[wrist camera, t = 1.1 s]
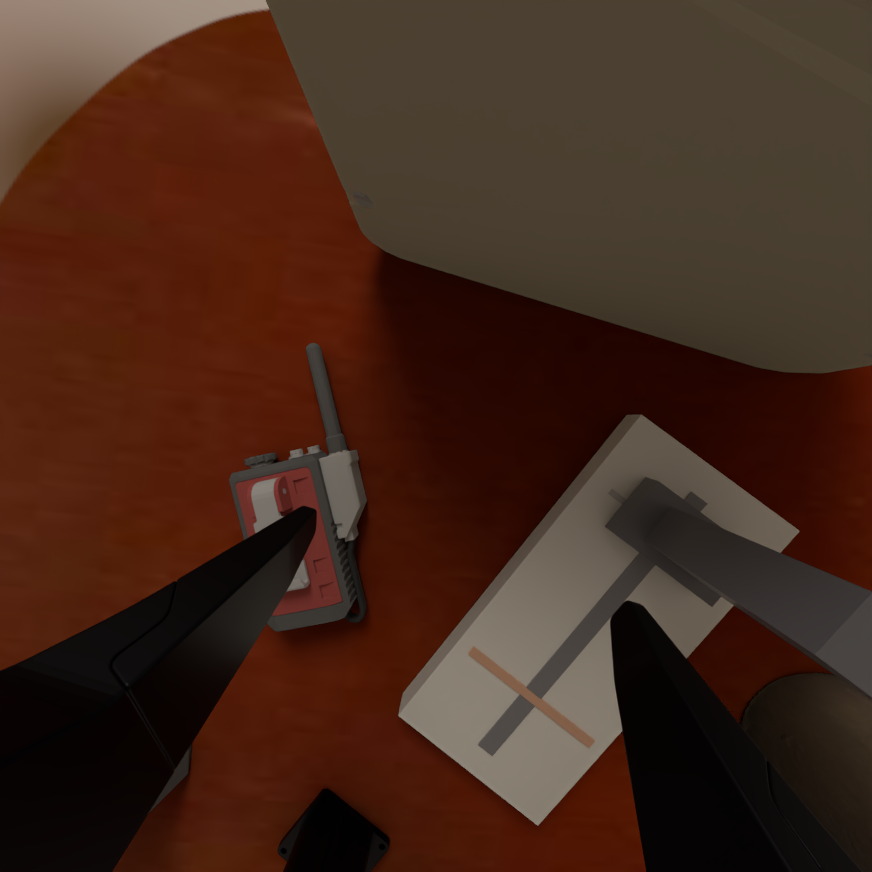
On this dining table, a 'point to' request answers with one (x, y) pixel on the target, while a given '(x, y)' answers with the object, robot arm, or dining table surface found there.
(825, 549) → the dining table surface
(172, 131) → the dining table surface
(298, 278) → the dining table surface
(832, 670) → the fader handle
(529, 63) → the radio
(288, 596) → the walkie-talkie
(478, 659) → the fader console
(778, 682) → the pillar candle
